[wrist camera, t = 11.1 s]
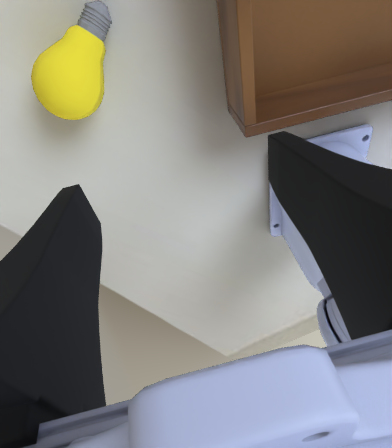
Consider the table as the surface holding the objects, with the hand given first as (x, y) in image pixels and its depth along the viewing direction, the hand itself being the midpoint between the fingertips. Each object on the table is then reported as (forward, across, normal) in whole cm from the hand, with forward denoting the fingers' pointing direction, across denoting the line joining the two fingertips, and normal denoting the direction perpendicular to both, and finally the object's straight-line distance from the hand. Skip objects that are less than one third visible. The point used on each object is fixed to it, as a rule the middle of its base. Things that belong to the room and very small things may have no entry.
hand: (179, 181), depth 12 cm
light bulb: (+10, +4, -3) cm, 11 cm away
